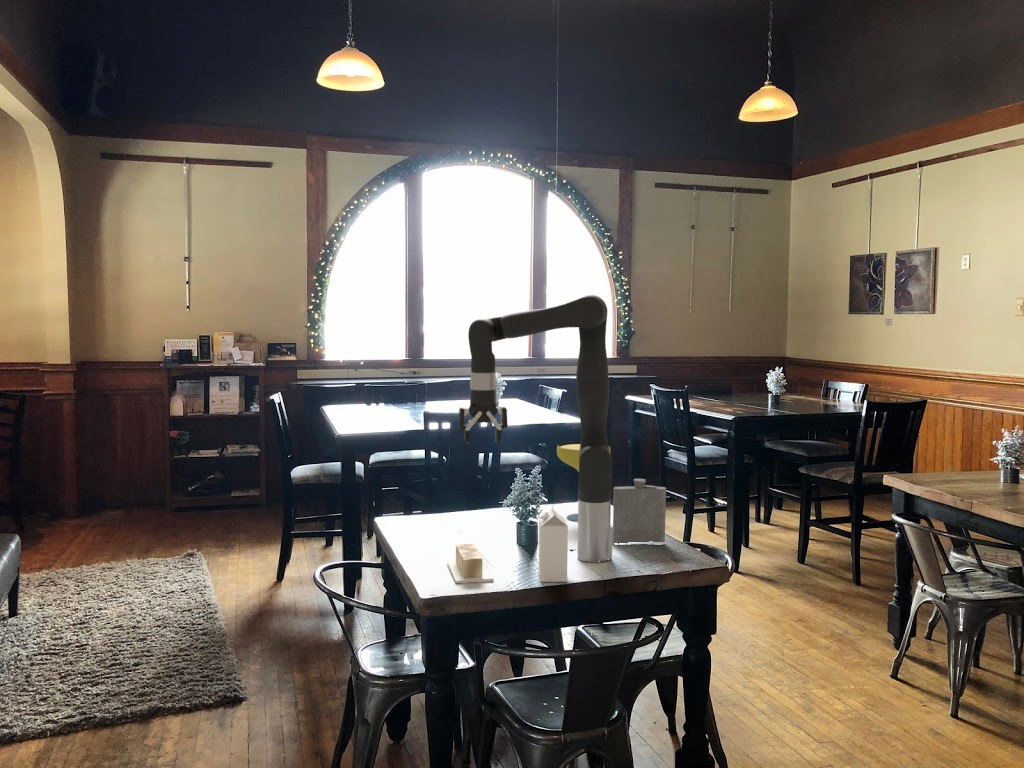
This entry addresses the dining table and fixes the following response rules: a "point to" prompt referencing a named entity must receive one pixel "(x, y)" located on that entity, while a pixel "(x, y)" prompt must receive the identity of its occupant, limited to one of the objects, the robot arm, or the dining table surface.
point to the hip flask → (639, 513)
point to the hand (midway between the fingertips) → (482, 442)
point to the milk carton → (553, 547)
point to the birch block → (469, 561)
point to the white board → (459, 578)
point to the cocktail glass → (570, 461)
